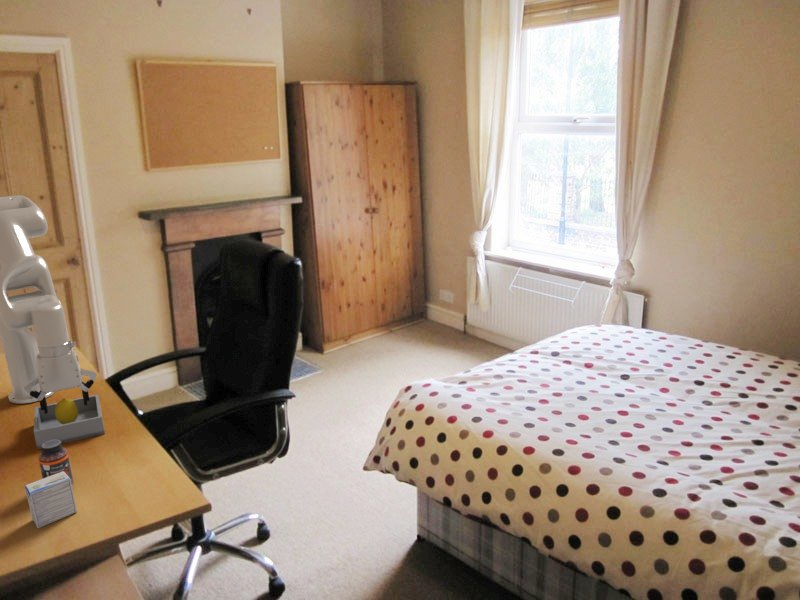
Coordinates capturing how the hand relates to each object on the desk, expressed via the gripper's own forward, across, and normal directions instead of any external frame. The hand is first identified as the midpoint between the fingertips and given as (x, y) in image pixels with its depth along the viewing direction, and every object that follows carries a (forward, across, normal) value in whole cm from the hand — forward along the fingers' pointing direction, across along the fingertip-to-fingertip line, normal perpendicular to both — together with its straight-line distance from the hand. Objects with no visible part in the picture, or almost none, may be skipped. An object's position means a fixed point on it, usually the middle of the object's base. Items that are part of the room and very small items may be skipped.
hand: (66, 407), depth 173 cm
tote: (+6, 0, +1) cm, 6 cm away
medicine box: (+6, +4, +43) cm, 43 cm away
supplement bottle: (+6, +3, +31) cm, 31 cm away
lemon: (+5, 0, 0) cm, 5 cm away
